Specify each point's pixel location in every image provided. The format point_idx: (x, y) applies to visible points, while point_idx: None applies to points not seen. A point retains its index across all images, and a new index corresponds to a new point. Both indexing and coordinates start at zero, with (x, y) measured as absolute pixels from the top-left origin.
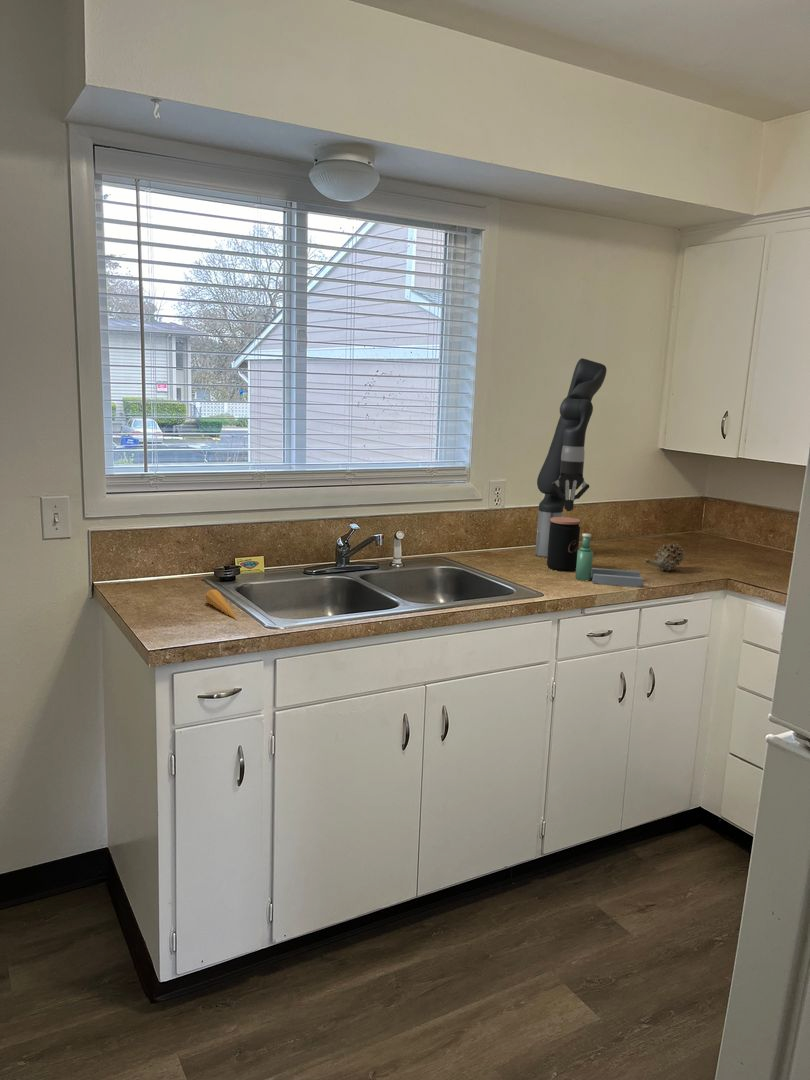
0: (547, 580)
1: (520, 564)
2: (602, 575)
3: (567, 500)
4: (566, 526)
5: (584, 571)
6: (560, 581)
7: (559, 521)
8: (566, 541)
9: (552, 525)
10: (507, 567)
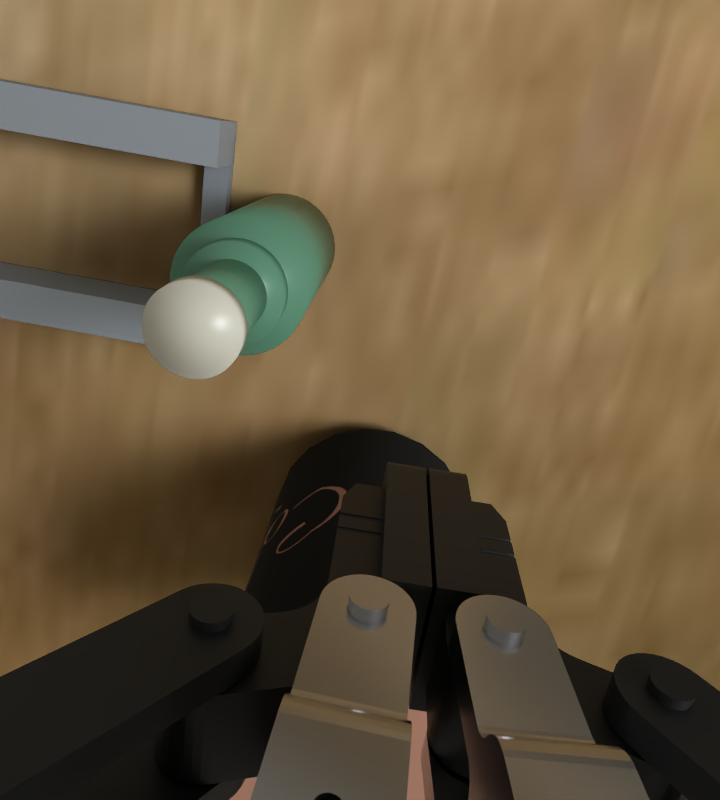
0: (544, 170)
1: (605, 571)
2: (155, 115)
3: (486, 591)
4: None
5: (276, 200)
6: (456, 155)
7: None
8: None
9: None
10: (717, 491)
